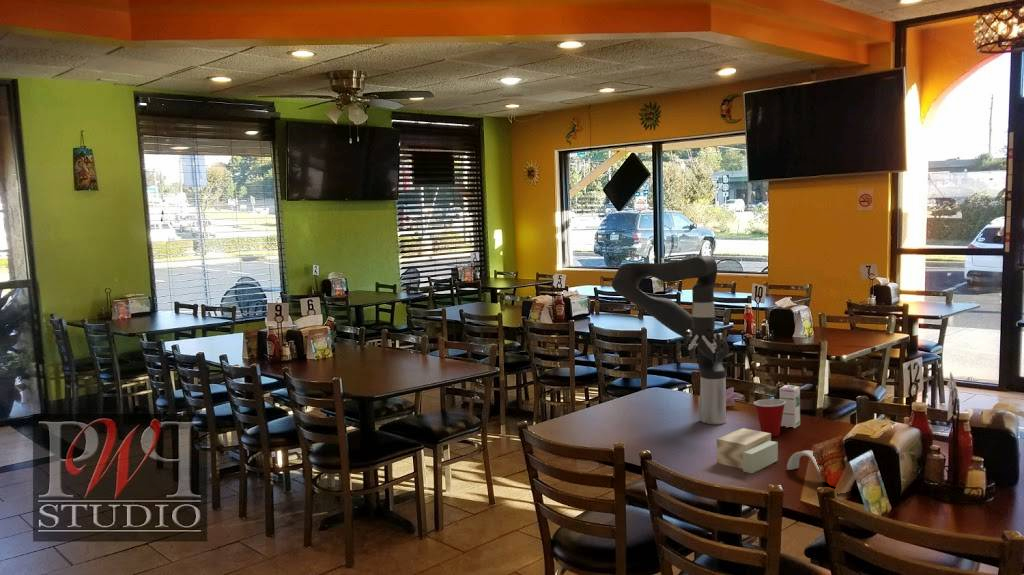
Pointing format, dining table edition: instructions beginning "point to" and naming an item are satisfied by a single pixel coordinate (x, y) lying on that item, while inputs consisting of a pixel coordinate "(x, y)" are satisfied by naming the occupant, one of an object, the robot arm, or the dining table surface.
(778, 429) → the plastic cup
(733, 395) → the lily
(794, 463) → the white arch
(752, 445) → the birch block
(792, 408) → the syrup box
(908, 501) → the dining table surface
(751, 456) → the sage board
